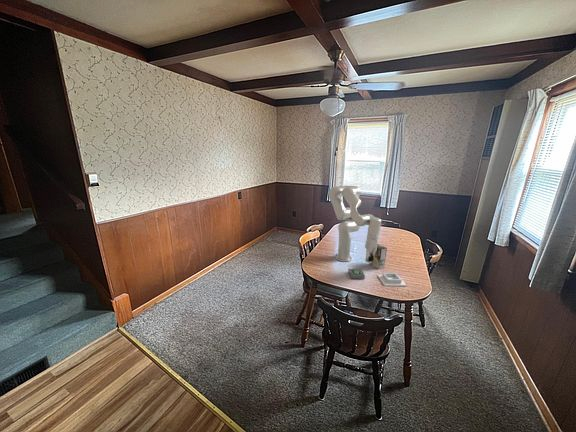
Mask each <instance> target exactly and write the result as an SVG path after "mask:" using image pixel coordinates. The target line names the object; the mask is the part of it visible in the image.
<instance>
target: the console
mask: <svg viewBox="0 0 576 432" xmlns="http://www.w3.org/2000/svg"><path fill="white" fill-rule="evenodd" d="M354 270H358V271H359V274H354ZM347 273H348V275H349V278H350V279H351V280H365V278H366V275H365V273H364V271H363V270H362V269H361V268H348V270H347Z"/></svg>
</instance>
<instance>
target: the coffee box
mask: <svg viewBox="0 0 576 432" xmlns="http://www.w3.org/2000/svg"><path fill="white" fill-rule="evenodd" d="M387 251H388V247H386V246H383V245H380V244H379V243H377V250H376V253H375V256H374V259H373V262H372V263H369V264H370V266H372V267H374V268H376V269H378V270H382V269H384V268H385V266H386V260H387V258H386V257H387Z"/></svg>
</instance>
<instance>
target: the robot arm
mask: <svg viewBox="0 0 576 432" xmlns="http://www.w3.org/2000/svg"><path fill="white" fill-rule="evenodd" d="M361 194H362V190H361V189H360V187H359V186H357V185H337V186H332V187H331V188H330V189H329V190H328V199H329V201H330V203H331V205H332V208H333V209H334V213H335V214H334V215H335V216H336V218H337V220H338V221H341V222H340V223H339V224H338V228H337V229H338V246H337V254H336V255H335V259H336V260H337V261H339V262H344V263H345V262H351V261H352V260H353V259H352V256H351V255H350V254H351V247H352V237H351V234H352V233H355V232H358V231H359V230H360V229H361V227H364V226H368V228H367V234H366V238H365V239H366V240H365V244H364V248H365V250H366V253H367V251H368V252H369V253H370V256H369V259H368V261H370V262H373V259H374V256H375V253H376V250H377V244H378V240H379V238H380V233H381V232H380V231H381V226H382V219H381V218H380V217H376V216H374V215H373V214H371V213H368V214H367V213H366V214H360V213H359V211H358V209H357V208H359V206H361V205H362V200H361V199H360V196H361ZM340 197H344V199H345V201H346V202H347V204H348V206H349V207H345V204H344V201H342V199H341V198H340ZM372 251H373V252H372ZM366 253H365V254H366ZM371 253H373V254H371Z"/></svg>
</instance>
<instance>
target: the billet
mask: <svg viewBox="0 0 576 432" xmlns="http://www.w3.org/2000/svg"><path fill="white" fill-rule="evenodd" d="M372 252H373V251H372ZM371 254H373V253H371ZM369 256H370V253H369V252H368V251H367V253H365V260H364V261H365V262H367V263H368V264H370V263H372V262H370V261H368V259H369Z"/></svg>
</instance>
